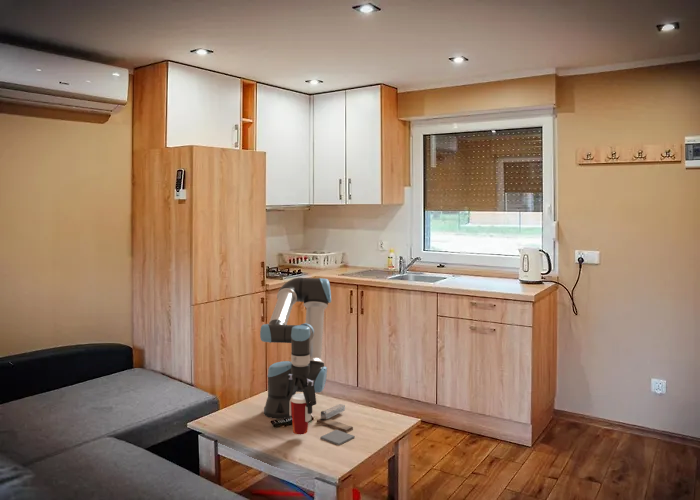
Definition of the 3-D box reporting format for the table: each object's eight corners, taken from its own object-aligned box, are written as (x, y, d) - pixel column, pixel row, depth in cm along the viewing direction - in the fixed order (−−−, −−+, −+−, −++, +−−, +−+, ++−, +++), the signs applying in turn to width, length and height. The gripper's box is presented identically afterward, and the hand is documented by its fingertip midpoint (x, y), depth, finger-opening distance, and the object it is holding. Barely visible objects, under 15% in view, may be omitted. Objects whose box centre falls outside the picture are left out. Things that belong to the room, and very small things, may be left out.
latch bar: (324, 420, 253) (324, 413, 253) (319, 418, 255) (319, 412, 255) (344, 410, 266) (344, 403, 265) (339, 409, 267) (339, 402, 267)
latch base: (316, 422, 255) (316, 419, 255) (323, 419, 258) (323, 416, 258) (346, 432, 244) (346, 429, 244) (352, 429, 248) (352, 426, 248)
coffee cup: (314, 431, 237) (314, 396, 236) (299, 437, 231) (299, 401, 230) (300, 425, 243) (300, 391, 241) (285, 431, 237) (285, 396, 235)
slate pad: (320, 438, 238) (320, 436, 238) (336, 431, 245) (336, 429, 245) (338, 445, 231) (339, 443, 231) (354, 437, 239) (354, 435, 239)
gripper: (275, 360, 238) (275, 413, 240) (313, 371, 225) (312, 427, 227) (288, 356, 244) (288, 408, 246) (326, 367, 230) (325, 421, 233)
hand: (300, 417), depth 237 cm, fingers closed on coffee cup, 8 cm apart
